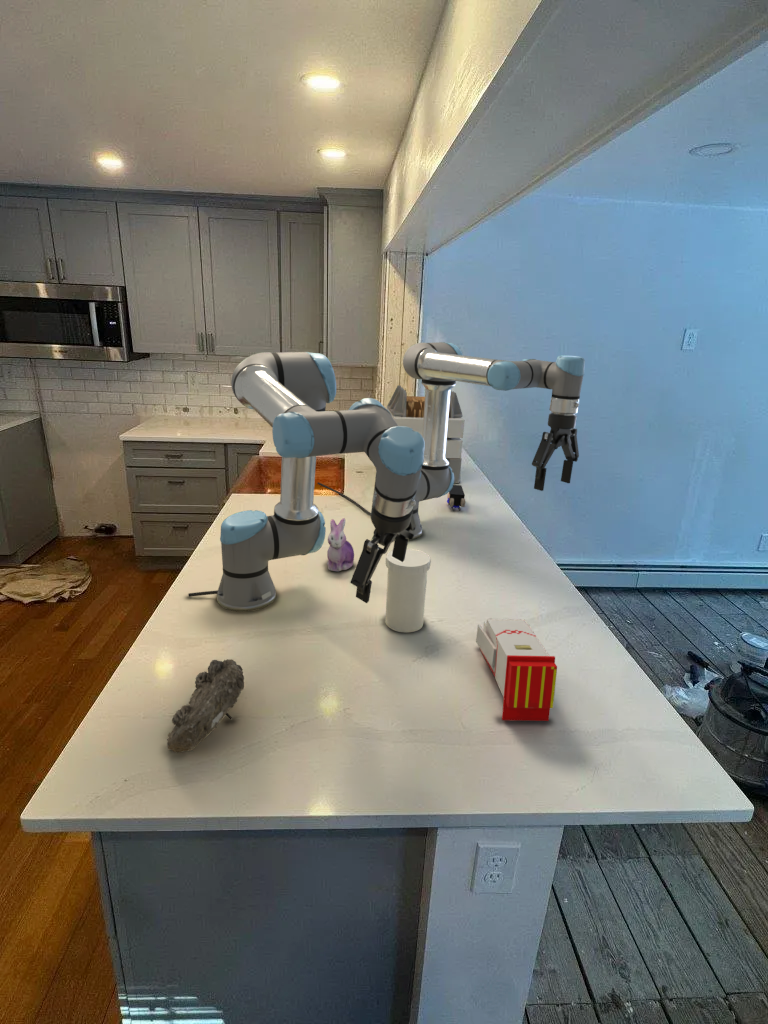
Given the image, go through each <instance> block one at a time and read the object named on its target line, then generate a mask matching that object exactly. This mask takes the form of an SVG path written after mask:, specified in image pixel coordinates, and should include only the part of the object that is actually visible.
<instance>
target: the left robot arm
mask: <svg viewBox="0 0 768 1024" xmlns="http://www.w3.org/2000/svg"><path fill="white" fill-rule="evenodd" d="M230 384H231V390H232V392H233V393H232V394H233V395H234V397H235V398H236V400H237V401H238V402H239V403H240V404H241V405H242V406H243V407H245V408H247V409H249V410H253V411H255V412H256V413H257V414H258V415H259V416H260V417H261V418H262V419H263V420H264V421H265V422H266V423H267V424H268V425H269V426H270V427H271V428H272V431H271V432H272V433H271V434H272V441H273V446H274V447H275V450H276V452H277V454H278V455H279V456H280V457H281V468H280V469H281V470H280V494H279V495H280V497H279V498H280V499H279V500H280V501H279V502H277V503H276V504H275V505H274V508H273V515H267V514H266V513H265V512H264V511H262V510H257V509H256V510H253V509H249V510H243V511H238V512H235V513H232V514H231V515H228V516H227V517H226V518H225V519H224V520H223V521H222V523H221V525H220V535H219V541H220V547H221V561H222V563H221V564H222V565H221V566H222V576H221V579H220V582H219V585H218V589H217V590H208V591H207V590H206V591H197V592H189V593H188V597H189V598H190V597H199V596H207V595H208V596H209V595H216V596H217V597H216V599H217V601H216V602H217V604H218V605H219V606H220V607H221V608H223V609H225V610H228V611H233V612H240V613H241V612H244V613H245V612H254V611H258V610H262V609H264V608H267V607H268V606H270V605H272V604H273V602H275V600H276V598H277V591H276V586H275V583H274V581H273V578H272V576H271V573H270V571H269V561H274V560H279V559H286V558H292V557H297V556H306V555H309V554H313V553H316V552H318V551H319V550H321V548H322V547H323V545H324V543H325V539H326V533H327V532H326V530H327V529H326V521H325V517H324V515H323V513H322V512H321V511H320V510H319V507H318V506H317V505H316V503H314V497H315V481H316V480H315V479H316V466H317V457H321V456H331V455H332V456H333V455H344V454H357V453H365V455H366V456H367V457H368V459H369V461H371V463H372V465H373V466H374V468H375V471H376V472H375V480H374V488H373V494H372V503H371V510H370V513H371V515H370V521H371V523H372V524H373V527H374V530H373V536H372V537H371V539H368V538H366V539H365V540H364V542H363V545H362V550H361V553H360V556H359V559H358V561H357V564H356V567H355V569H354V572H353V574H352V577H351V579H350V582H349V583H350V584H352V585H353V586H354V587H356V591H355V598H357V599H358V600H360V601H361V602H363V603H365V604H368V603H369V602H370V597H371V589H372V583H373V580H371V579H372V577H373V576H374V573H375V571H376V569H377V567H378V565H379V563H380V562H381V559H382V557H383V555H386V554H387V553H388V550H389V549H390V546H391V544H392V543H393V549H392V550H393V553H392V556H393V557H394V558H396V559H398V560H400V561H401V562H403V561H404V559H405V554H406V549H407V548H408V543H409V541H410V540H411V541H413V540H414V539H413V538H414V535H413V534H412V533H410V532H411V530H412V531H414V530H415V529H416V525H415V521H414V517H413V506H415V505H416V501H415V496H416V491H417V487H418V482H419V478H420V473H421V469H422V465H423V462H424V449H425V442H424V439H423V437H422V435H421V434H420V433H419V432H417V431H413V429H412V428H409V427H405V426H398V425H397V423H396V422H395V420H394V419H393V417H392V415H391V414H390V412H389V411H388V410H387V407H385V406H384V405H383V404H382V402H380V401H379V400H377V399H375V398H372V397H364V398H362V399H360V400H358V401H355V402H353V403H352V405H351V406H350V407H349V409H345V410H344V409H343V410H326V409H327V408H326V407H327V404H331V403H332V402H334V400H335V398H336V395H337V379H336V375H335V370H334V367H333V366H332V363H331V361H330V359H329V358H328V357H327V356H326V355H325V354H323V353H318V352H309V351H296V352H295V351H291V352H290V351H289V352H286V351H285V352H284V351H283V352H268V351H267V352H266V351H265V352H264V351H263V352H258V353H254V354H251V355H249V356H247V357H246V358H244V359H243V360H242V361H241V362H240V363H238V365H236V367H235V369H234V370H233V372H232V375H231V382H230ZM398 533H400V535H399V534H398ZM408 538H409V539H410V540H408ZM379 545H380V546H382V547H383V548H382V547H380V546H379Z"/></svg>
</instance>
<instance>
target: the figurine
mask: <svg viewBox="0 0 768 1024" xmlns="http://www.w3.org/2000/svg"><path fill="white" fill-rule="evenodd" d="M329 524H330V525H329V526H330V532H329V534H328V536H327V543H328V545H329V547H328V548H327V552H326V553H327V555H326V556H327V562H326V565H327V570H328V571H332V572H341V571H346V570H348V569H350V568H352V567H353V566H354V560H355V551H354V548H353V545H352V544H351V542H349V541H348V540H347V535H346V534H345V532H344V529H345V527H346V518H345V517H344V518H341V519H340V521H339V522H338V524H337V523H336V520H335V519H333V518H332V519H330V523H329Z"/></svg>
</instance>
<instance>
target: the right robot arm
mask: <svg viewBox="0 0 768 1024" xmlns="http://www.w3.org/2000/svg"><path fill="white" fill-rule="evenodd" d="M585 365H586V360H585V358H584V357H582V356H578V355H566V354H565V355H564V354H563V355H558V356H557V357H556V360H555V361H549V360H541V359H536V358H524V359H521V360H506V359H505V360H504V359H503V360H502V359H496V358H487V357H479V356H471V355H464V354H463V352H462V350H461V349H460V347H459V346H457V345H456V344H455V343H451V342H445V341H443V342H442V341H441V342H440V341H439V342H438V341H437V342H417V343H414V344H412V345H411V346H409V347H408V348H407V350H406V351H405V353H404V355H403V358H402V366H403V369H404V372H405V373H406V374H407V375H408V376H409V377H411V378H412V379H415V380H421V385H422V386H423V387H424V389H425V392H424V397H425V404H424V419H423V434H422V437H423V439H424V442H425V449H424V462H423V465H422V469H421V473H420V478H419V482H418V487H417V491H416V496H415V501H416V505H415V506H413V517H414V521H415V525H416V529H415V530H414V531H412V530H411V532H410V533H412V534H413V535H414V538H413V539H412V540H415V539H418V538H420V537H421V536H422V535H423V525H422V524H421V518H420V515H419V507H420V506H419V505H420V502H423V501H427V500H431V499H437V498H440V497H443V496H446V495H448V493H449V491H450V490H451V489H452V487H453V485H455V483H454V473H452V469H451V467H450V466H449V462H448V461H447V459H446V458H445V453H446V441H447V428H448V416H449V404H450V392H451V391H452V389H453V388H454V387H455V386H456V384H457V382H461V383H465V384H473V385H479V386H487V387H491V388H492V389H494V390H496V391H503V392H504V391H511V390H520V389H532V388H533V389H534V388H539V389H546V390H551V398H550V404H549V413H548V418H547V419H548V420H547V426H548V427H549V428H550V431H549V432H548V431H543V432H542V435H541V440H540V442H539V445H538V447H537V449H536V452H535V454H534V457H533V460H532V461H531V466H533V467H535V475H534V477H535V478H534V485H533V489H534V490H537V491H539V492H543V491H544V489H545V484H546V483H545V482H546V476H547V468H546V466H547V465H548V463H549V461H550V459H551V457H552V456H553V454H554V453H555V451H556V450H557V449H558V448H560V447H561V449H562V452H563V455H564V458H565V459H563V463H562V468H561V469H562V470H561V475H560V482H562V483H566V484H571V478H572V472H573V466H574V463H576V462H578V461H579V457H580V453H579V444H578V428H576V423H577V419H578V416H577V414H578V412H579V411H578V410H579V406H580V397H581V391H582V385H583V380H584V376H585ZM317 485H318V486H321V487H322V488H325V489H327V490H329V491H332V492H334V493H335V494H338V495H339V496H341V497H343V498H345V499H346V500H347V501H350V502H351V503H352V504H354V505H356V507H358V508H359V509H361V510H362V511H364V512H365V513H366V514H367V515H369V516H371V511H369V510H367V509H366V508H365V507H363V506H362V505H360V504H359V503H358V502H356V501H355V500H354V499H352V498H350V497H349V496H347V495H345V494H343V493H342V492H340V491H338V490H336V489H334V488H332V487H329V486H328V485H326V484H324V483H321V482H318V481H317ZM398 534H399V535H400V533H398ZM408 541H410V539H409V538H408Z"/></svg>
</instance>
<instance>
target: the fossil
mask: <svg viewBox="0 0 768 1024" xmlns="http://www.w3.org/2000/svg"><path fill="white" fill-rule="evenodd" d="M243 670H244V669H243V667H242V665H240V664H237V662H236V661H235V660H234V659H232V658H231V659H227V658H226V659H224V660H223V661H222V660H217V659H212V660H211V661H210V663H209V665H208V666H207V671H201V672H199V673H198V674H197V675H196V676H195V680H194V684H195V685H194V687H195V689H194V690H193V693H192V694H191V697H190V698H189V700H188V704H184V705H182V706H181V707H180V709H177V710H176V711H175V713H174V715H173V716H172V718H171V723H172V724H173V727H172V730H171V731H170V732H168V734H167V738H166V741H167V742H166V745H167V749H168V750H169V751H173V752H174V753H176V754H178V753H182V752H188V751H189V752H192V751H193V750H195V748H196V747H197V746H199V744H200V743H201V742H203V741H204V740H205V739H206V738H207V737H208V736H209V735H210V734H211V733H212V732H214V730H215V729H217V727H218V726H219V724H220V722H221V721H222V720H223V719H224V718H225V716H226V717H227V719H229V720H233V717H232V715H230V714H229V710H230V709H231V708H234V706H235V704H236V703H237V702H238V699H239V697H240V695H241V693H242V691H243V690H245V689H244V688H245V675H244V671H243Z"/></svg>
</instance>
